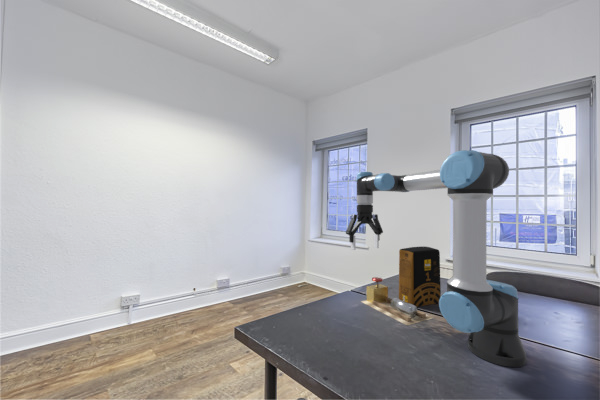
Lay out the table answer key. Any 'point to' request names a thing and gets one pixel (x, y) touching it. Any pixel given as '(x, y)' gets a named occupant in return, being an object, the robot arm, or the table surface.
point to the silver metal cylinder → (404, 307)
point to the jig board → (417, 319)
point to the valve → (377, 291)
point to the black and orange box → (419, 276)
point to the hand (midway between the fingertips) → (364, 248)
